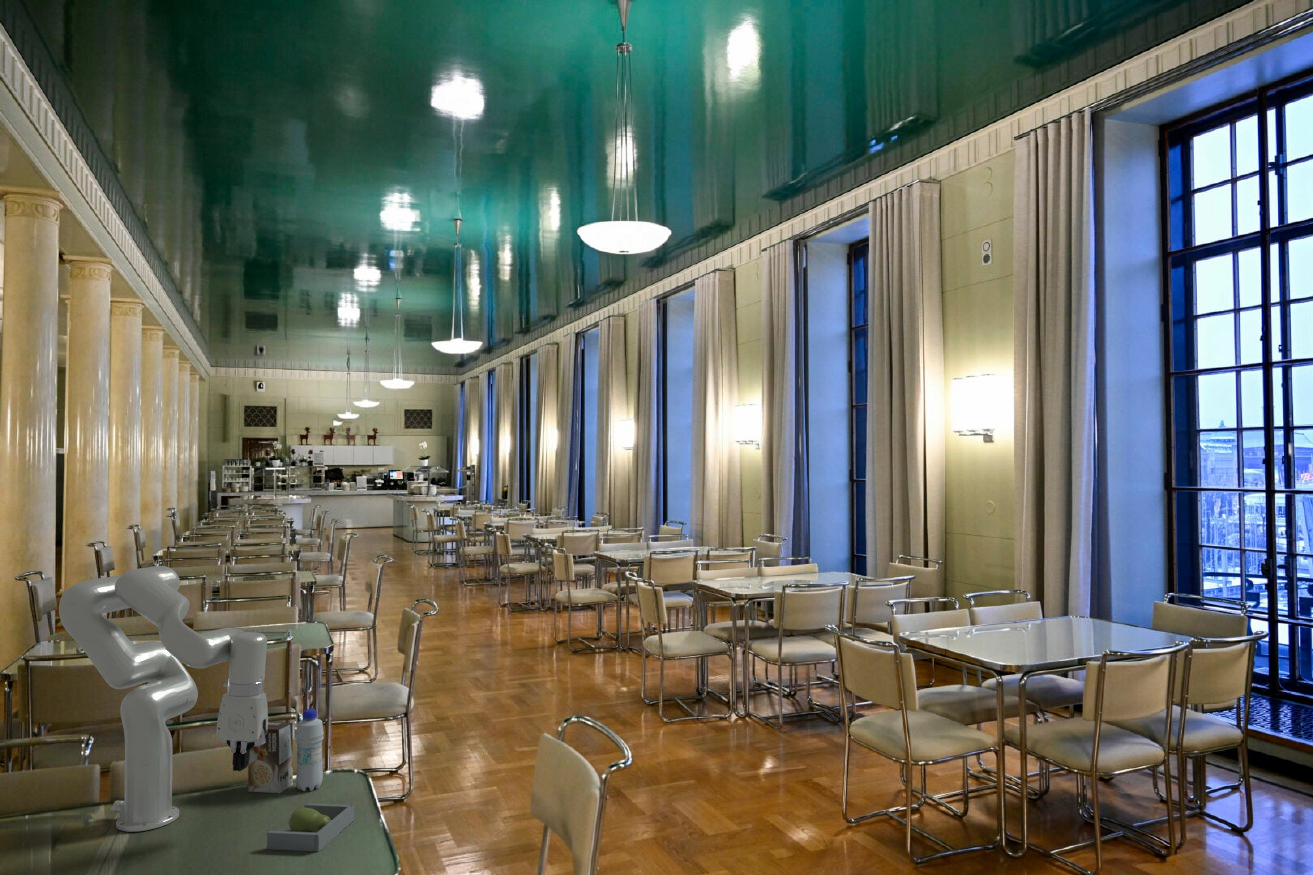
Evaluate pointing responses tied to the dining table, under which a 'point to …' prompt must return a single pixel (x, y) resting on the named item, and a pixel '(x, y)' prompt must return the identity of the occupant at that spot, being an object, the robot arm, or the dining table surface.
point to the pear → (307, 820)
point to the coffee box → (272, 760)
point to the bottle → (309, 751)
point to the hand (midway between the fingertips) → (240, 768)
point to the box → (313, 841)
